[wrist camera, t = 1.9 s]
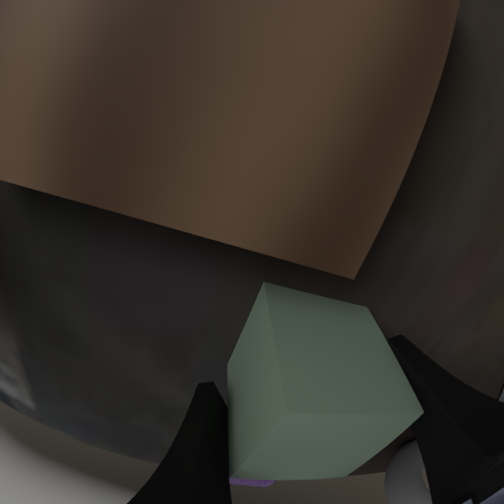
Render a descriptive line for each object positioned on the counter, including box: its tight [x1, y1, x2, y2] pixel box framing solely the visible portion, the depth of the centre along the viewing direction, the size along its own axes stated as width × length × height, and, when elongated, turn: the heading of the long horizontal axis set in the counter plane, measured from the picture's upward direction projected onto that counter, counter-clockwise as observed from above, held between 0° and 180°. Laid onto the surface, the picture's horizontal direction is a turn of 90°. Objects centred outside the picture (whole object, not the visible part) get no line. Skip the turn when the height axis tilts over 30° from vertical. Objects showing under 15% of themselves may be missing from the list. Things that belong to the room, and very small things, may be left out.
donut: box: [385, 440, 432, 504], centre depth 17 cm, size 10×3×10 cm, turn 71°
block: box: [227, 282, 424, 480], centre depth 11 cm, size 5×5×6 cm
